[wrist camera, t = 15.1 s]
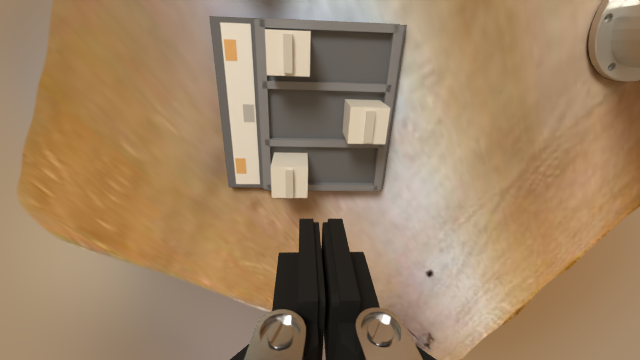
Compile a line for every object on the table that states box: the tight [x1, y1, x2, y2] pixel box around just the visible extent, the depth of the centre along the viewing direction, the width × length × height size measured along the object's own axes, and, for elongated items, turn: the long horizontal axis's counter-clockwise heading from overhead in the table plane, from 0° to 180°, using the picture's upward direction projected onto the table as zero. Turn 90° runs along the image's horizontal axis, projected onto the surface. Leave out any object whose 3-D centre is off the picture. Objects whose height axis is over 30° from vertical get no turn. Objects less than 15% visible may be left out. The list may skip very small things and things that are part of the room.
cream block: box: [271, 152, 308, 198], centre depth 33 cm, size 4×4×5 cm
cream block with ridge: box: [343, 99, 390, 144], centre depth 31 cm, size 4×4×5 cm
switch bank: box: [210, 16, 407, 191], centre depth 33 cm, size 20×19×2 cm
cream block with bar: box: [265, 29, 311, 77], centre depth 28 cm, size 4×4×5 cm
